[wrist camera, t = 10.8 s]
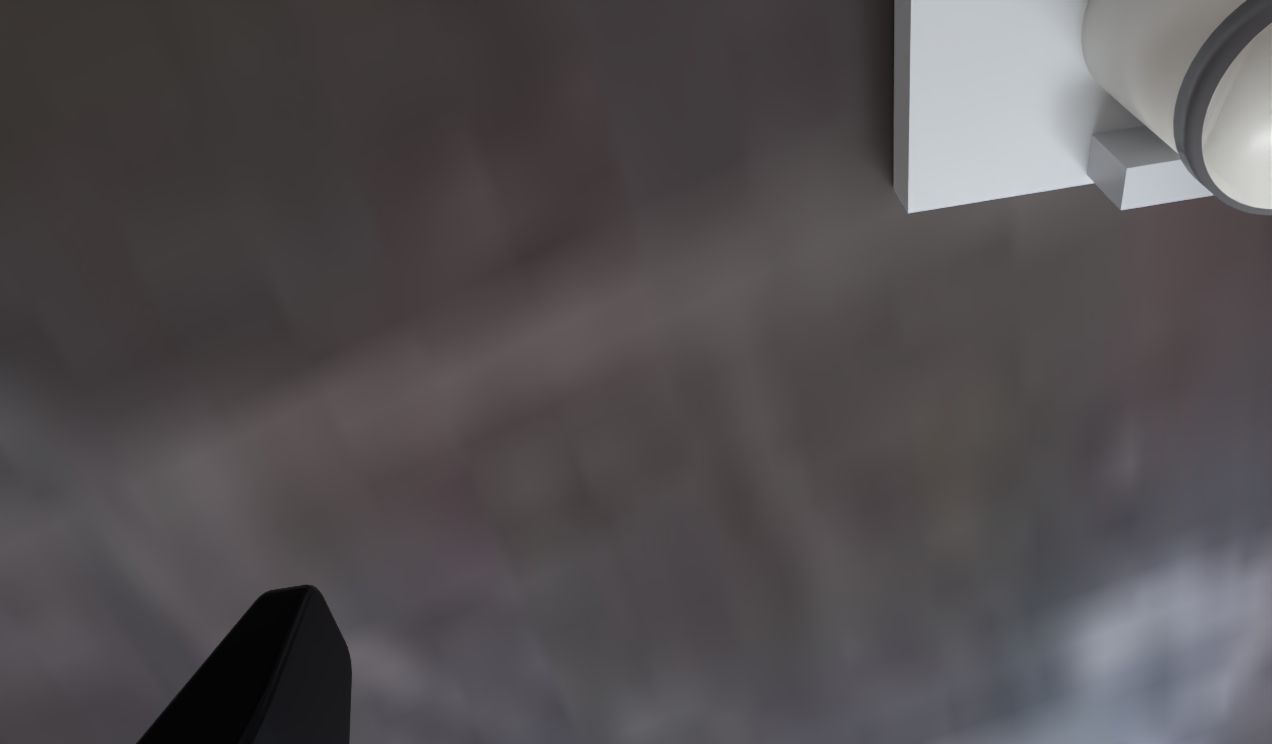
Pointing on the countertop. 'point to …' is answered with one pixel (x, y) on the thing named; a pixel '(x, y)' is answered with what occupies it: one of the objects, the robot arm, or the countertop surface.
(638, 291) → the countertop surface
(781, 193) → the countertop surface
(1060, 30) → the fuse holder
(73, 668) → the countertop surface
